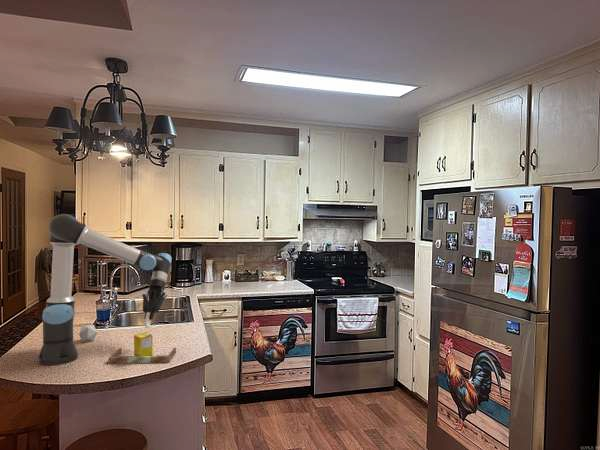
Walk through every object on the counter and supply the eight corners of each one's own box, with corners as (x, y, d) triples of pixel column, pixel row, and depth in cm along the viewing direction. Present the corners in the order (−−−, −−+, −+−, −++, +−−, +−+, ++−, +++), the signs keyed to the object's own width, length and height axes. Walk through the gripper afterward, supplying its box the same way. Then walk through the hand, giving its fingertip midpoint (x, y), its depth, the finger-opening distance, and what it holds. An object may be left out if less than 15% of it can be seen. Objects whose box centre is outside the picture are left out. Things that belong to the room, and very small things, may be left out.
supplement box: (145, 355, 188) (145, 331, 188) (152, 358, 184) (152, 334, 184) (133, 358, 183) (133, 334, 183) (140, 362, 180) (140, 337, 179)
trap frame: (108, 363, 178) (108, 357, 178) (119, 353, 190) (119, 348, 190) (169, 362, 179) (169, 356, 179) (176, 352, 192) (176, 347, 192)
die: (98, 338, 215) (87, 324, 215) (103, 333, 209) (92, 318, 209) (83, 348, 208) (72, 333, 209) (88, 343, 203) (77, 327, 203)
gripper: (173, 284, 210) (162, 328, 197) (151, 286, 214) (139, 329, 200) (165, 277, 204) (154, 322, 191) (143, 279, 208) (130, 323, 194)
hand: (146, 326), depth 196 cm, fingers closed
